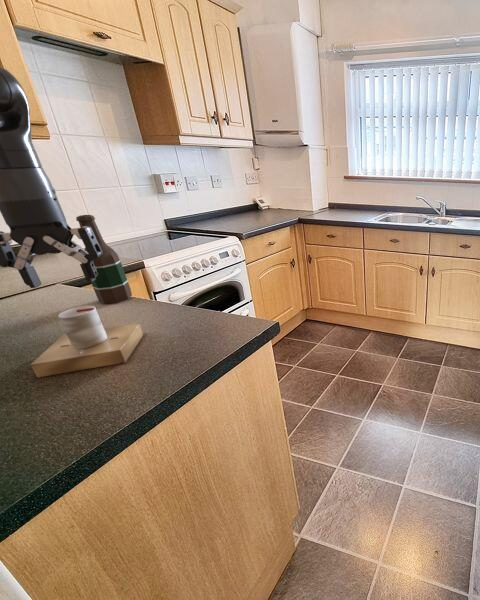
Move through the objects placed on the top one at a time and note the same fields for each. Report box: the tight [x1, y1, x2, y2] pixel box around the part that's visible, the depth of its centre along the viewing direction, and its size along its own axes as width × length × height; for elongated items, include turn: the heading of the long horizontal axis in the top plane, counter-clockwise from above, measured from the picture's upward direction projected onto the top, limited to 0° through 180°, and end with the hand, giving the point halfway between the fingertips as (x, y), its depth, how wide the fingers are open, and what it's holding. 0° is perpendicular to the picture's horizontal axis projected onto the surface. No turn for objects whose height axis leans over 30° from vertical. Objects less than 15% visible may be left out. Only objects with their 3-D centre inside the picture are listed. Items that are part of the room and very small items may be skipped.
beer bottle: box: [75, 214, 133, 305], centre depth 93 cm, size 8×8×24 cm
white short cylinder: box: [57, 305, 107, 349], centre depth 68 cm, size 6×6×7 cm
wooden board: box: [30, 323, 144, 378], centre depth 70 cm, size 14×12×3 cm
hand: (65, 283), depth 65 cm, fingers open, 8 cm apart
